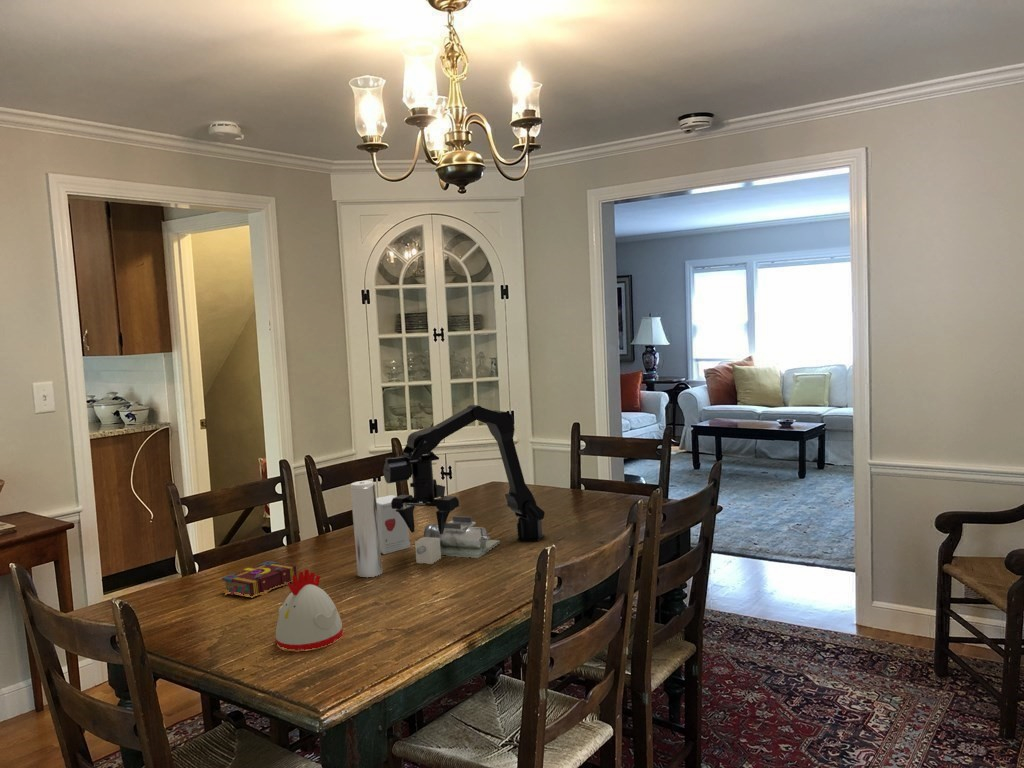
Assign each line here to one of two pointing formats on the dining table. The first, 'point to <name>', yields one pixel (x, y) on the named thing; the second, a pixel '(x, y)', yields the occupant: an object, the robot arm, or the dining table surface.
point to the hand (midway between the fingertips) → (427, 533)
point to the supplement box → (391, 527)
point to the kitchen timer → (307, 616)
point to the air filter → (366, 529)
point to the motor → (462, 538)
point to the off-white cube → (428, 550)
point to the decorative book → (259, 578)
